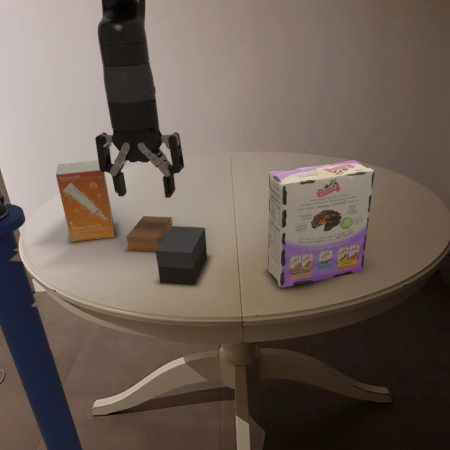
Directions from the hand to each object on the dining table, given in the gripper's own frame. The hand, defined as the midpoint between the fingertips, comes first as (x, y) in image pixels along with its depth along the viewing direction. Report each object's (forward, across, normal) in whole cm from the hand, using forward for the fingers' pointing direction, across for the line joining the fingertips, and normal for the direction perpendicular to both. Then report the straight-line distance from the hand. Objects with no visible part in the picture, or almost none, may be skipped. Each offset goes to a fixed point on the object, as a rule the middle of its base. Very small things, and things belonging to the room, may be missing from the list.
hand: (145, 195), depth 81 cm
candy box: (+9, +30, -8) cm, 32 cm away
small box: (+9, -13, +2) cm, 15 cm away
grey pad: (+6, +9, -10) cm, 14 cm away
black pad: (+9, +9, -10) cm, 16 cm away
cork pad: (+9, 0, 0) cm, 9 cm away
